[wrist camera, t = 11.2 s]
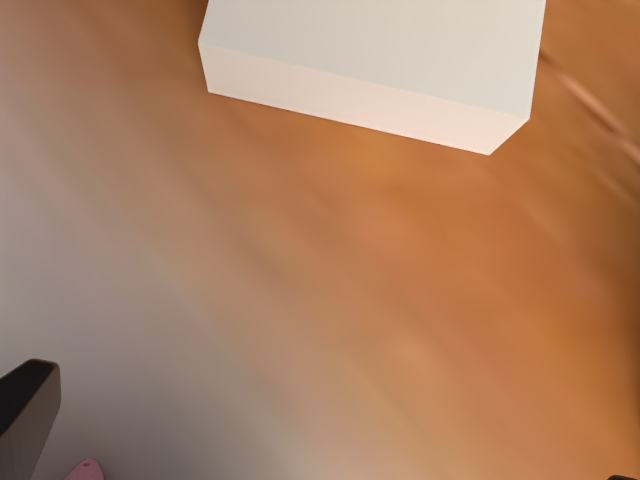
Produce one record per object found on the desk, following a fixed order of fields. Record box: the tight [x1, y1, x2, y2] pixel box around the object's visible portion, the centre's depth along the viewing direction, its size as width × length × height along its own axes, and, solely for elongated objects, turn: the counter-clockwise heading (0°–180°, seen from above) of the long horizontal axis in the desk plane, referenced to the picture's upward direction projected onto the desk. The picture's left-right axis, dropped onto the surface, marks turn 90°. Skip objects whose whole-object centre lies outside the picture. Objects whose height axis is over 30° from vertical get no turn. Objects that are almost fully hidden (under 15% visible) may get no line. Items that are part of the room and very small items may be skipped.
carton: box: [198, 0, 546, 155], centre depth 24 cm, size 9×12×4 cm
